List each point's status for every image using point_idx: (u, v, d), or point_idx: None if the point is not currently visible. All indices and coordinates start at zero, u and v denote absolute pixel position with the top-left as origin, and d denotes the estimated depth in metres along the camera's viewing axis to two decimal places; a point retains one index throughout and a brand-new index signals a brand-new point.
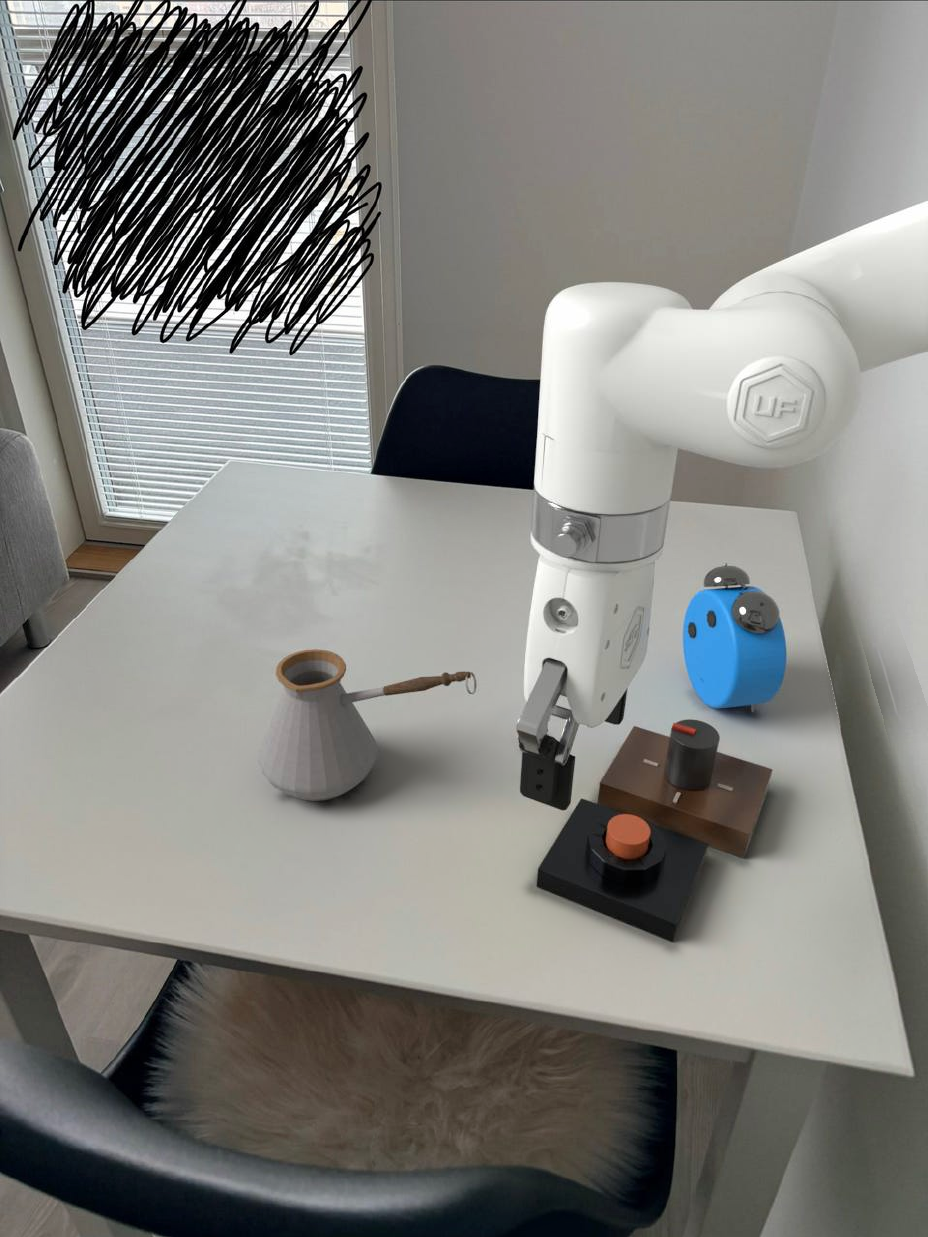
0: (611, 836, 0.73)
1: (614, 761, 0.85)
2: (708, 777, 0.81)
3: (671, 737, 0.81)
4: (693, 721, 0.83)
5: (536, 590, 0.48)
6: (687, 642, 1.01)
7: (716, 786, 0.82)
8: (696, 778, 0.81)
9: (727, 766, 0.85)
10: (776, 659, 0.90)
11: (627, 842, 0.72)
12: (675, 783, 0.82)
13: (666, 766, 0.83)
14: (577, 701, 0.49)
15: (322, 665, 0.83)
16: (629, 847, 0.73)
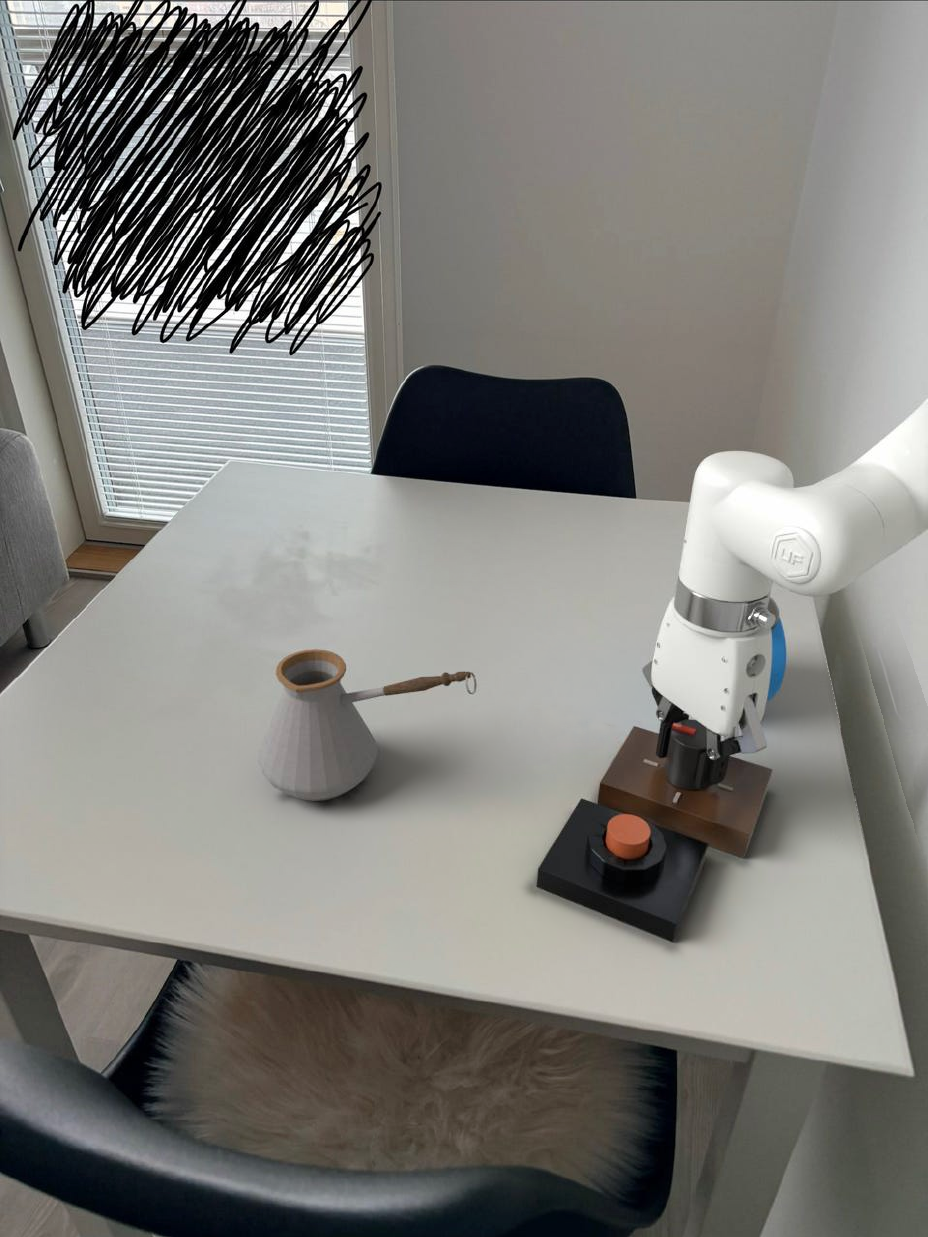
0: (611, 836, 0.73)
1: (614, 761, 0.85)
2: None
3: (671, 737, 0.81)
4: (693, 721, 0.83)
5: (738, 659, 0.71)
6: None
7: (716, 786, 0.82)
8: None
9: None
10: (776, 659, 0.90)
11: (627, 842, 0.72)
12: (675, 783, 0.82)
13: (666, 766, 0.83)
14: None
15: (322, 665, 0.83)
16: (629, 847, 0.73)
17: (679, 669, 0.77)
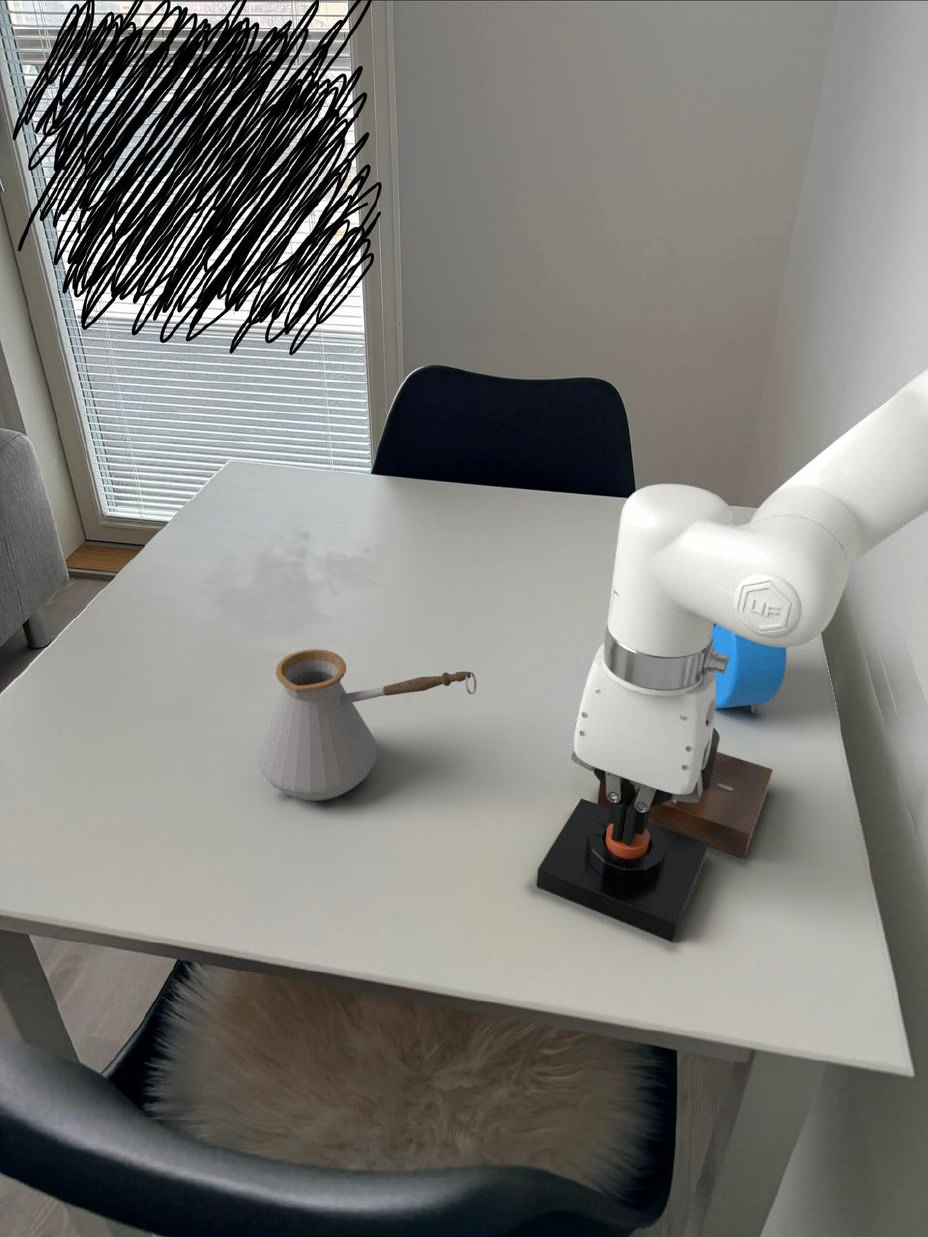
0: (610, 840, 0.73)
1: None
2: None
3: None
4: None
5: (700, 713, 0.63)
6: None
7: (716, 786, 0.82)
8: None
9: (727, 766, 0.85)
10: (776, 659, 0.90)
11: (626, 847, 0.73)
12: (708, 783, 0.82)
13: None
14: None
15: (322, 665, 0.83)
16: (628, 852, 0.73)
17: (620, 737, 0.67)
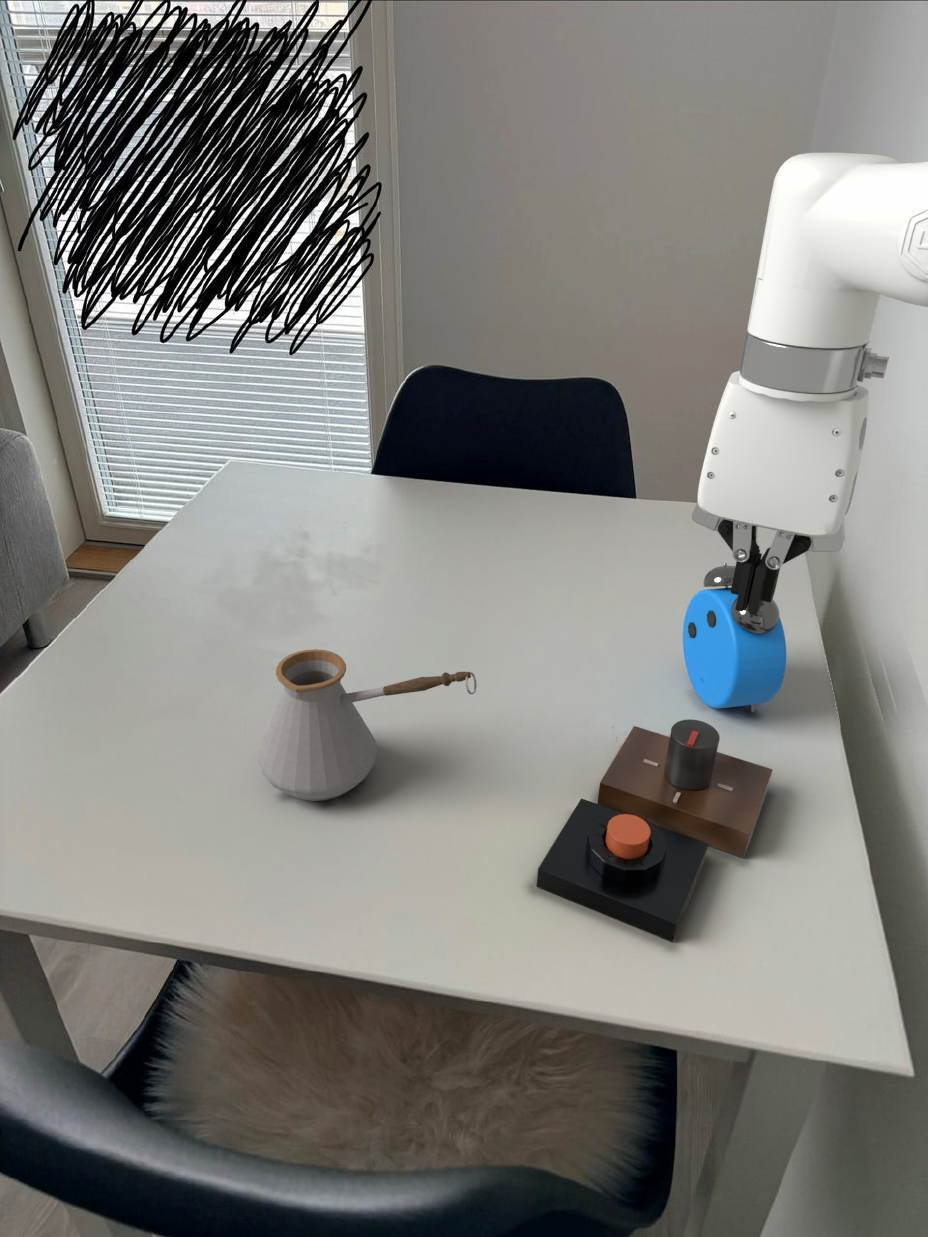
0: (611, 836, 0.73)
1: (614, 761, 0.85)
2: None
3: (702, 752, 0.79)
4: (674, 731, 0.81)
5: (855, 426, 0.56)
6: (687, 642, 1.01)
7: (716, 786, 0.82)
8: None
9: (727, 766, 0.85)
10: (776, 659, 0.90)
11: (627, 842, 0.72)
12: (708, 783, 0.82)
13: (696, 781, 0.81)
14: None
15: (322, 665, 0.83)
16: (629, 847, 0.73)
17: (757, 470, 0.60)
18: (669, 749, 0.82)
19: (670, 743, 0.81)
